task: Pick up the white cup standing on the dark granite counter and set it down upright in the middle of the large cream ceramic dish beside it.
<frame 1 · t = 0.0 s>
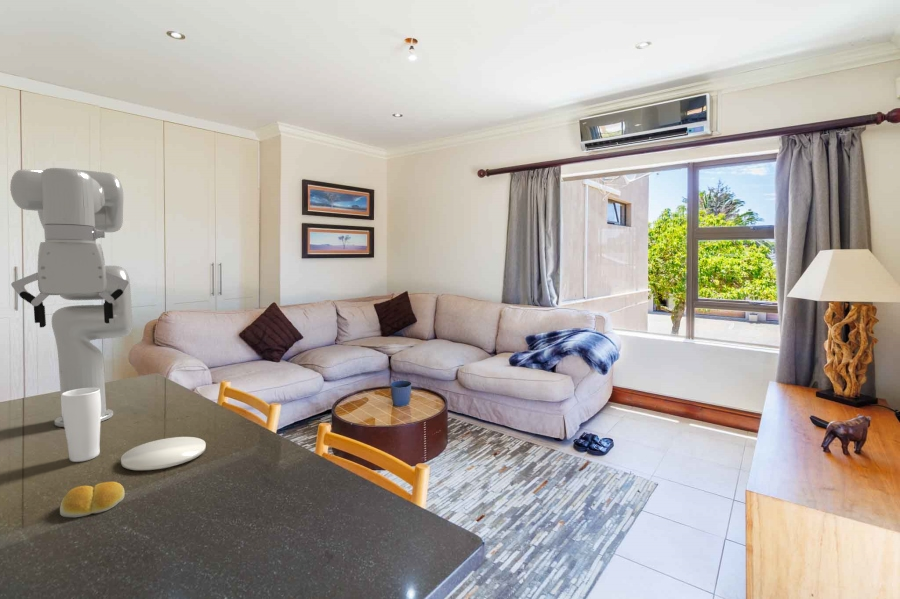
hand: (76, 324, 88), 31 cm above the table, tool pointing down, fingers open, 9 cm apart
cream dish: (165, 456, 102), on the table
bread roll: (92, 507, 81), on the table
white cup: (84, 458, 101), on the table
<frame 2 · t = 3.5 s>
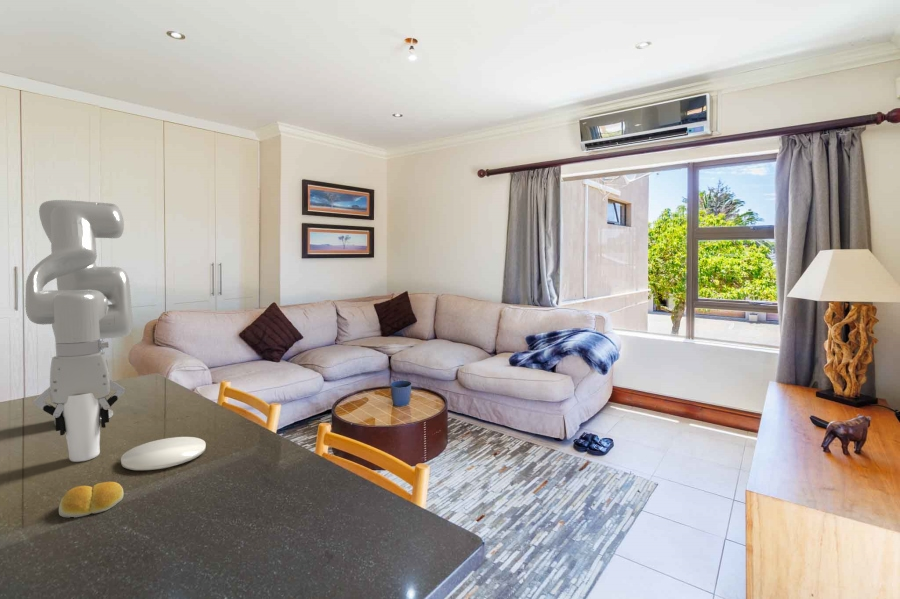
hand: (83, 429, 100), 7 cm above the table, tool pointing down, fingers closed on white cup, 6 cm apart
white cup: (84, 458, 101), on the table, touching gripper
everything else where it was.
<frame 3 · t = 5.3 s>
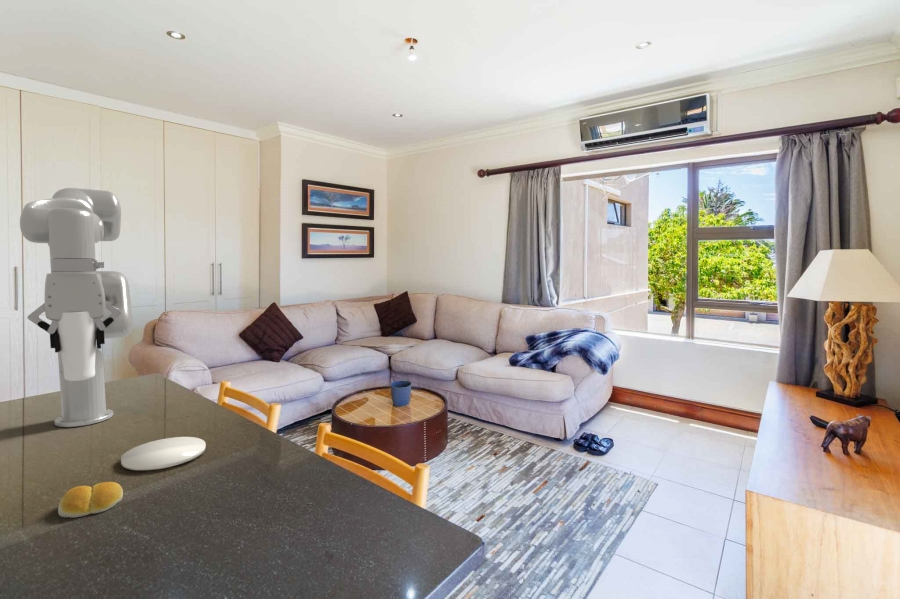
hand: (78, 348, 99), 24 cm above the table, tool pointing down, fingers closed on white cup, 6 cm apart
white cup: (80, 379, 100), point 18 cm above the table, touching gripper
everything else where it was.
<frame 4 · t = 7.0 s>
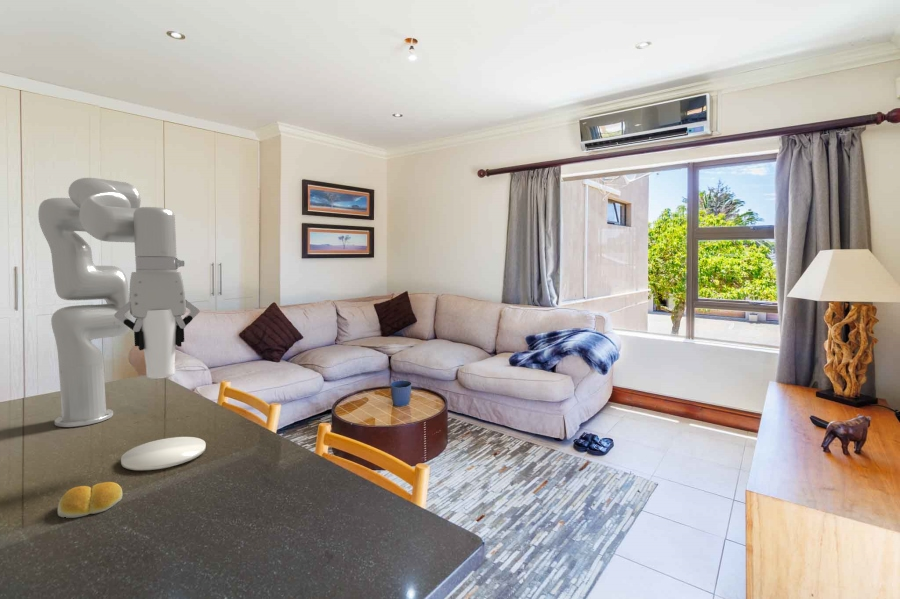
hand: (160, 346, 100), 25 cm above the table, tool pointing down, fingers closed on white cup, 6 cm apart
white cup: (161, 377, 101), point 18 cm above the table, touching gripper
everything else where it was.
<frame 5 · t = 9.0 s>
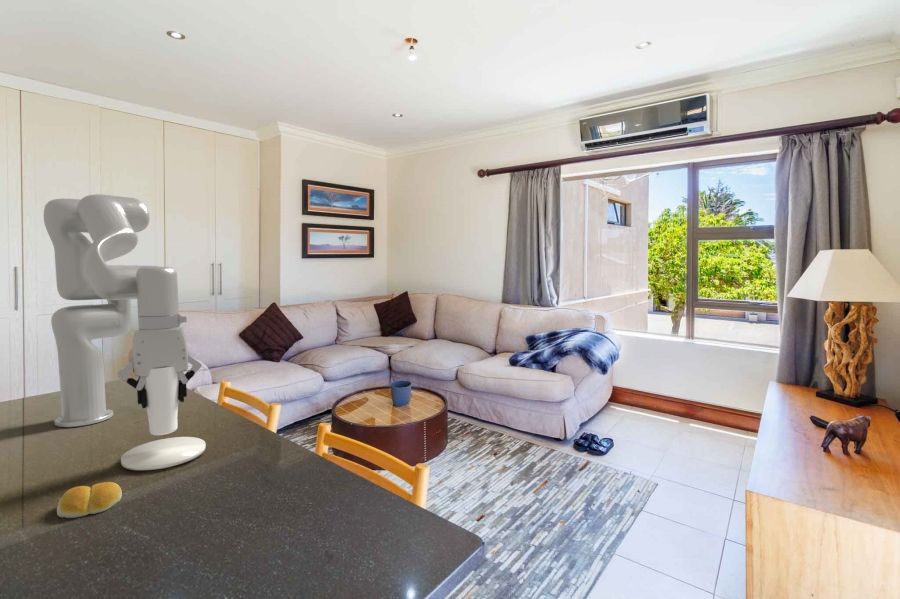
hand: (162, 402, 101), 12 cm above the table, tool pointing down, fingers closed on white cup, 6 cm apart
white cup: (163, 432, 102), point 5 cm above the table, touching gripper
everything else where it was.
when the fingers open (9 cm above the table, at t = 10.7 s): white cup stays where it is, resting on cream dish.
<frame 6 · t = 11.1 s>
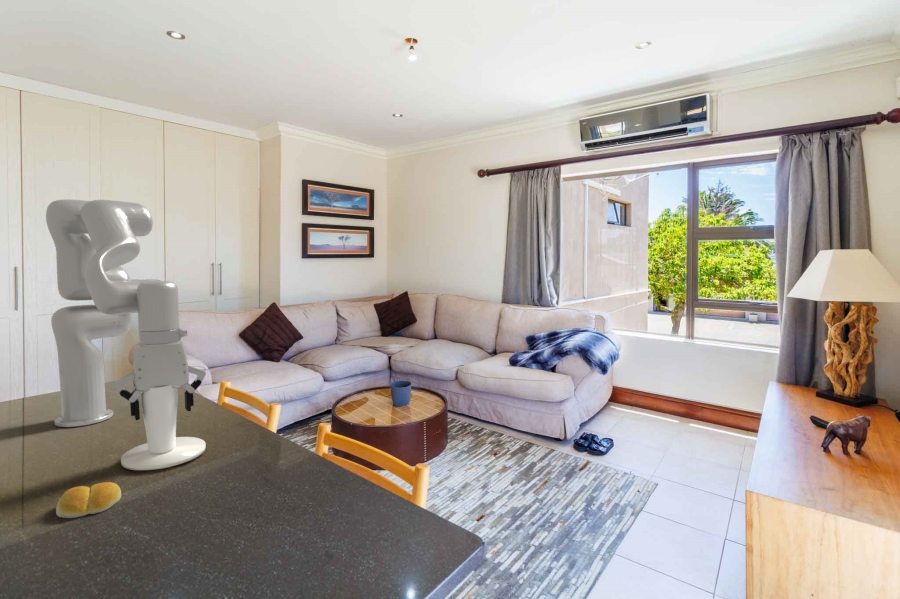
hand: (163, 413, 101), 10 cm above the table, tool pointing down, fingers open, 9 cm apart
white cup: (162, 450, 102), point 1 cm above the table, touching cream dish
everything else where it was.
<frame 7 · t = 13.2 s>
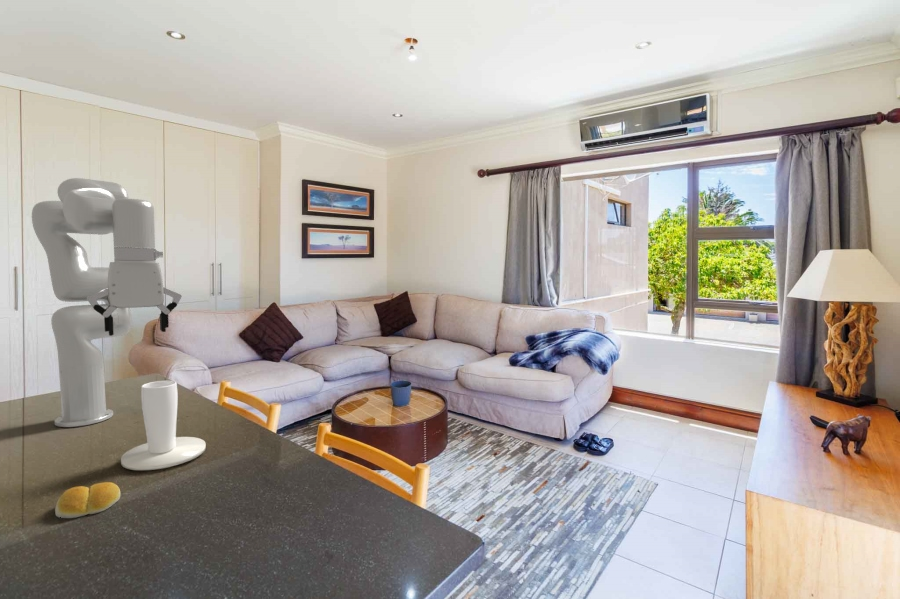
hand: (137, 332, 102), 28 cm above the table, tool pointing down, fingers open, 9 cm apart
nothing on the table moved.
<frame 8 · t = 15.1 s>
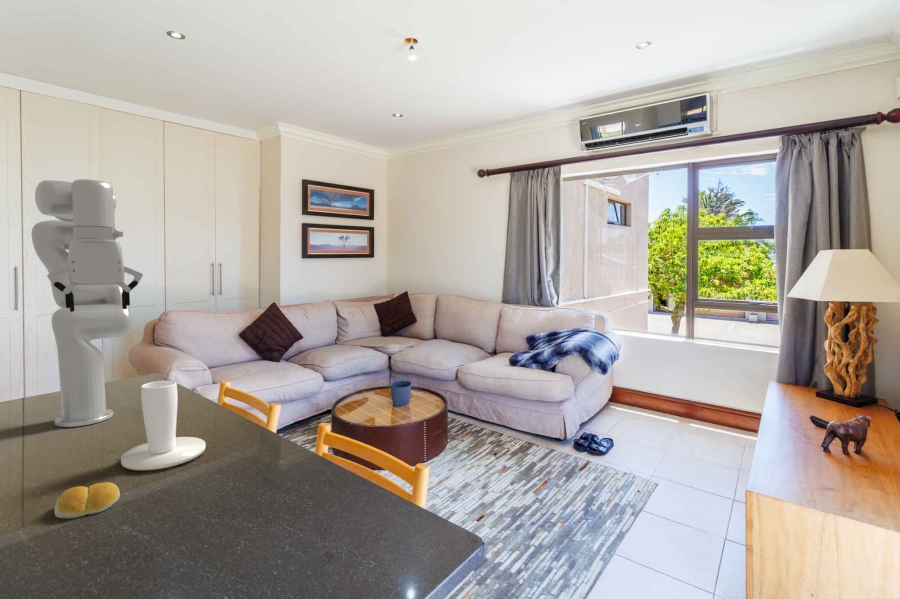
hand: (99, 310, 106), 32 cm above the table, tool pointing down, fingers open, 9 cm apart
nothing on the table moved.
at the end: white cup inside the target area on the cream dish (0.8 cm from its centre), point 1.3 cm above the cream dish's base; white cup tilted 0°; the gripper is holding nothing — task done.
